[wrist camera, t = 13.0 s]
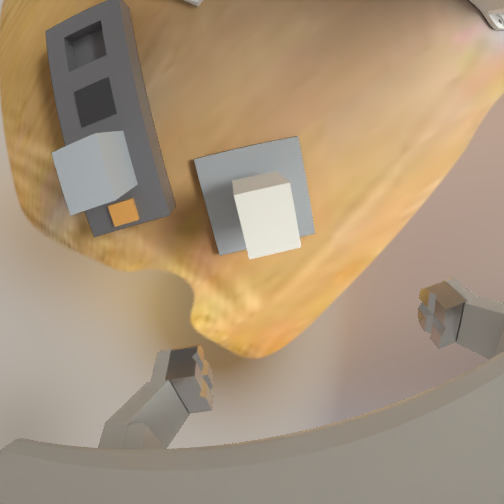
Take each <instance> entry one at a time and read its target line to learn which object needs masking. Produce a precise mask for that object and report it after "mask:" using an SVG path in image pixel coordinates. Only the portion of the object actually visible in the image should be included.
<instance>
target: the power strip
mask: <svg viewBox="0 0 504 504" xmlns="http://www.w3.org/2000/svg"><path fill="white" fill-rule="evenodd" d="M45 32H46V43H47V51H48V59H49V67H50V73H51V80H52V86H53V92H54V97H55V102H56V107H57V112H58V117H59V121H60V126H61V130H62V134H63V139H64V143H65V146H67V145H69V144H72V143H74V142H76V141H78V140H81V139H83V138H85V137H88V136H90V135H92V134H95V133H101V132H112V131H123V132H124V136H125V140H126V143H127V147H128V151H129V155H130V158H131V162H132V166H133V169H134V173H135V176H136V180H137V183H138V185H136V186H135V187H133V188H132V189H131V190H129V191H128V192H126V193H125V194H124V195H122V196H121V197H119V198H118V199H117V200H115V201H112V202H109V203H106V204H103V205H100V206H97V207H94V208H91V209H88V210H86V211H85V213H86V216H87V219H88V222H89V225H90V227H91V230H92V233H93V236H94V237H96V236H100V235H103V234H106V233H110V232H113V231H116V230H120V229H123V228H127V227H130V226H134V225H137V224H141V223H144V222H148V221H151V220H155V219H159V218H162V217H166V216H170V214H171V213H172V211H173V209H174V208H175V206H176V204H175V200H174V197H173V193H172V190H171V186H170V183H169V179H168V176H167V172H166V168H165V165H164V161H163V157H162V154H161V150H160V146H159V142H158V138H157V134H156V130H155V126H154V122H153V118H152V114H151V110H150V106H149V102H148V97H147V93H146V89H145V84H144V80H143V75H142V71H141V66H140V61H139V57H138V52H137V47H136V42H135V37H134V32H133V26H132V21H131V15H130V10H129V7H128V6H127V5H126V4H125V3H124V1H123V0H107V1H105V2H102V3H100V4H98V5H95V6H93V7H91V8H89V9H87V10H85V11H83V12H80V13H78V14H76V15H74V16H72V17H70V18H69V19H67V20H65V21H63V22H61V23H59V24H57V25H55V26H54V27H52V28H50V29H48V30H47V31H45Z"/></svg>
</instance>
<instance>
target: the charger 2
mask: <svg viewBox="0 0 504 504" xmlns="http://www.w3.org/2000/svg"><path fill="white" fill-rule="evenodd" d="M232 184H233V193H234V198H235V202H236V206H237V211H238V215H239V219H240V223H241V227H242V231H243V235H244V239H245V244H246V248H247V252H248V256H249V259H253V258H257V257H262V256H266V255H270V254H275V253H279V252H283V251H287V250H292V249H296V248H300V247H301V242H300V236H299V230H298V224H297V219H296V213H295V207H294V202H293V196H292V191H291V186H290V182H289V181H288V180H286V179H285V178H284V177H283V176H282V175H281V174H280V173H278V172H277V171H273V172H268V173H264V174H259V175H255V176H250V177H246V178H241V179H237V180H233V181H232Z"/></svg>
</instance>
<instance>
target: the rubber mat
mask: <svg viewBox="0 0 504 504" xmlns="http://www.w3.org/2000/svg"><path fill="white" fill-rule="evenodd" d="M194 162H195V166H196V170H197V174H198V178H199V182H200V185H201V189H202V193H203V197H204V200H205V204H206V208H207V211H208V215H209V219H210V222H211V226H212V230H213V233H214V237H215V241H216V244H217V248H218V251H219V255H220V256H221V255H225V254H229V253H233V252H238V251H242V250H246V249H247V248H246V244H245V239H244V235H243V231H242V227H241V223H240V219H239V215H238V211H237V206H236V202H235V198H234V193H233V184H232V181H233V180H237V179H241V178H246V177H250V176H255V175H259V174H264V173H268V172H273V171H277V172H278V173H280V174H281V175H282V176H283V177H284V178H285V179H286V180H288V181H289V182H290V186H291V191H292V196H293V202H294V207H295V213H296V219H297V224H298V230H299V236H300V237H302V236H307V235H311V234H315V230H314V223H313V217H312V211H311V204H310V198H309V192H308V187H307V181H306V175H305V170H304V164H303V159H302V153H301V148H300V143H299V138H298V137H297V136H296V137H290V138H285V139H279V140H274V141H269V142H264V143H260V144H255V145H250V146H246V147H241V148H237V149H233V150H228V151H224V152H220V153H216V154H212V155H208V156H204V157H200V158H196V159H194Z"/></svg>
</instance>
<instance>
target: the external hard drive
mask: <svg viewBox="0 0 504 504" xmlns="http://www.w3.org/2000/svg"><path fill="white" fill-rule="evenodd" d="M183 1H186V2H188V3H190V4H192V5H194V6H197V7H198V6H199V5H200V4H201V3H202V1H203V0H183Z"/></svg>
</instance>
